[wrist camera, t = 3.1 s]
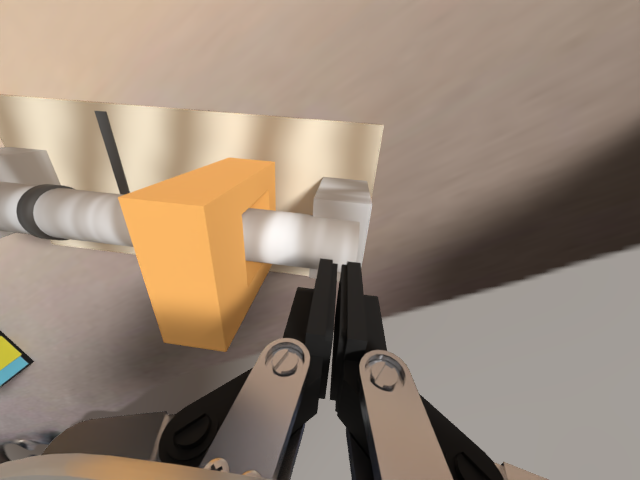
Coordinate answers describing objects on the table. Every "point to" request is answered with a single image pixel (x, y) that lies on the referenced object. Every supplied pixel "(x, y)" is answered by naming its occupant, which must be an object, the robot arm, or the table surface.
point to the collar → (200, 248)
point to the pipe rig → (178, 158)
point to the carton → (11, 359)
